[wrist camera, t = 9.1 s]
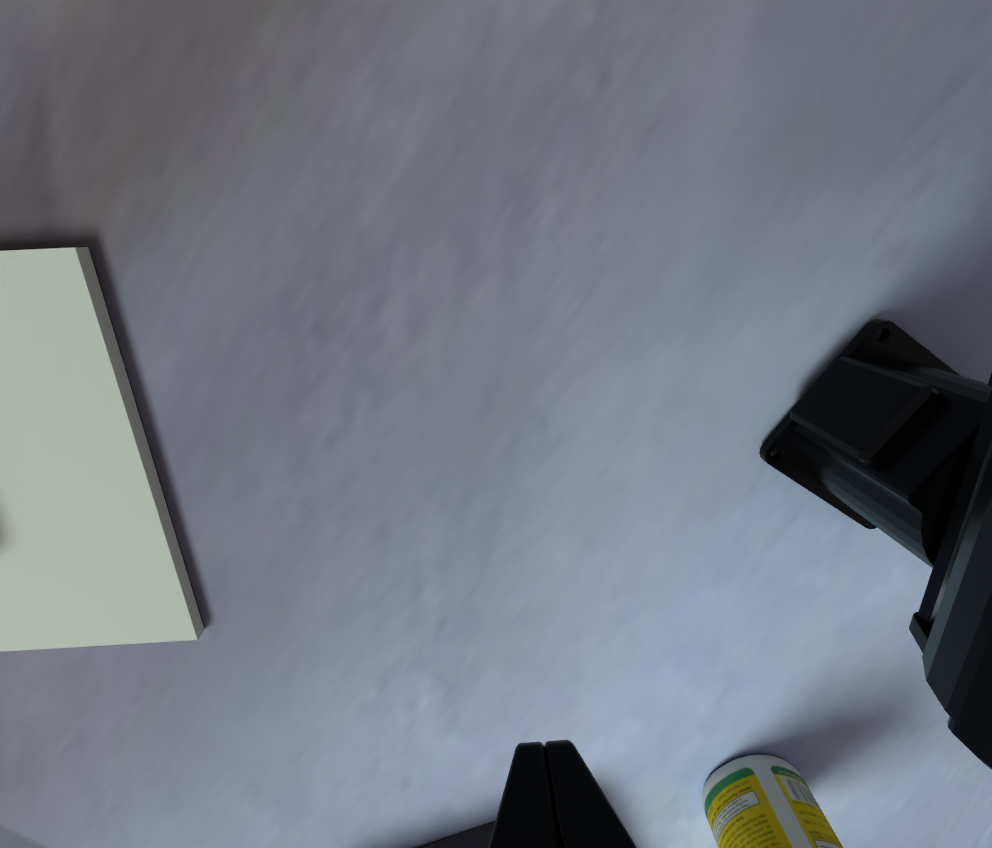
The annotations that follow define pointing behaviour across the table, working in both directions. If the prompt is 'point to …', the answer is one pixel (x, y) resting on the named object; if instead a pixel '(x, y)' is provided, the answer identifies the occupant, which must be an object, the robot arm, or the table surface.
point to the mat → (77, 473)
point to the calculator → (467, 838)
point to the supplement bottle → (764, 806)
